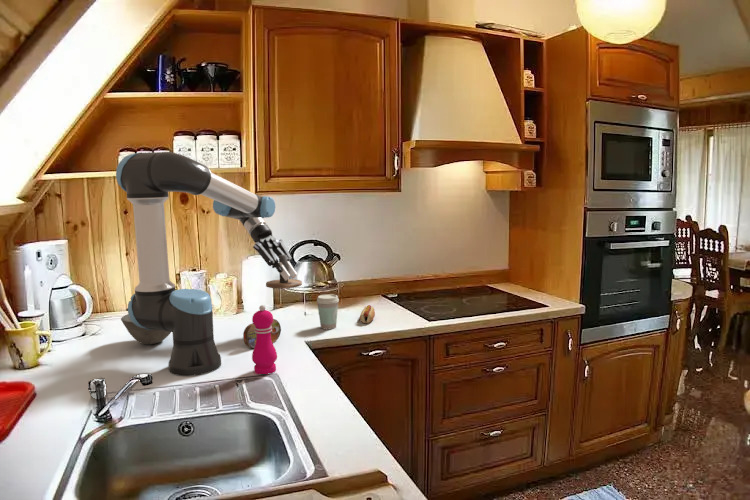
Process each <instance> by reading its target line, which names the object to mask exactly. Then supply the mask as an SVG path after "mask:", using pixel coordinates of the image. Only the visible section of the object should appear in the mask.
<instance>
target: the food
mask: <svg viewBox="0 0 750 500" xmlns="http://www.w3.org/2000/svg"><path fill="white" fill-rule="evenodd" d="M375 317H376V313H375V308H374V306H372V305H370V304H369V305H367V306H364V308H363V309H362V310H361V313H360V315H359V320H360V322H362V323H364V324H370V323H372V321H373V320H374V318H375Z"/></svg>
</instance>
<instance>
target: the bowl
mask: <svg viewBox="0 0 750 500" xmlns="http://www.w3.org/2000/svg"><path fill="white" fill-rule="evenodd" d="M120 321H121V322H122V323H123V326H124V327H125V328H126V330H127V332H128V334H130V335H131V337H132V338H133V339H134V340H136V341H137V342H139V344H143V345H154V344H159V343H161V342H163V341H164V340H165V339H166V338H168V337H169V336H170V335H171V333H172V332H167V331H159V330H147V329H145V328H141V327H138V326H136V325H135V324H134V323H133V322H132V321H131V319H130V317H129V314H128V313H127V314H126V315H123V316H122V317H121V318H120Z"/></svg>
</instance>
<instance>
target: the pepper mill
mask: <svg viewBox="0 0 750 500" xmlns="http://www.w3.org/2000/svg"><path fill="white" fill-rule="evenodd" d="M273 319H274V315H273V313H272V312H271V311H269V310H268V309H267V310H266V306H265V305H263V304H261V305H260V306H259V307H258V311H255V313H254V314H253V315H252V319H251V320H252V323H253V324H254V325H255V326H256V327H255V333H256V336H257V338H256V345H255V347H254V348H253V350H252V354H251V361H252V362H253V363H254V364H255V365H254V366H253V369H254V373H255V374H256V375H259V374H267V375H269V374H268V373H271V374H274V373H275V372H276V370H277V368H276V367H277V364H276V363H275V362H276V361H277V359H278V353H277V351H276V347H275V346H274V343H272V340H271V331H272V326H271V324H272V322H273ZM273 372H274V373H273Z"/></svg>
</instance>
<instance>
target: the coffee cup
mask: <svg viewBox="0 0 750 500" xmlns="http://www.w3.org/2000/svg"><path fill="white" fill-rule="evenodd" d="M339 302H340V299H339V296H338V295H337V294H332V293H329V294H320V295H318V296H317V299H316V303H317V309H318V310H317V311H318V316H319V323H320V328H321V329H323V330H333V329H335V328H337V324H338V323H337V322H338V321H337V320H338V312H339V311H338V310H339Z"/></svg>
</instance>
